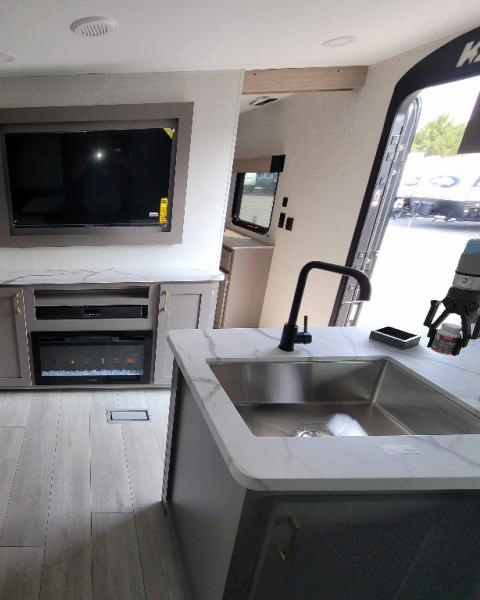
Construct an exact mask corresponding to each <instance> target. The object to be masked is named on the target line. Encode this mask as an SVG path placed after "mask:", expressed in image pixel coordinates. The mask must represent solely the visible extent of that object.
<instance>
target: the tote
mask: <svg viewBox="0 0 480 600" xmlns="http://www.w3.org/2000/svg"><path fill="white" fill-rule="evenodd" d="M368 338H369V339H370V340H374V341H377V342H379V343H381V344H385V345H388V346H390V347H394V348H396V349H399V350H400V351H401V350H403V351H404V350H406V349H408V348H412V347H414V346H417V345H418V344H420V341H421V338H422V335H420V334H418V333H417V334H416V333H414V332H410V331H407V330H404V329H402V328H401V329H400V328H397V327H394V326H391V325H388V324H387V325H383V326H380V327H377V328H374V329H371V330H370V332H369V336H368Z"/></svg>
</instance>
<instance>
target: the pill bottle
mask: <svg viewBox="0 0 480 600" xmlns="http://www.w3.org/2000/svg"><path fill="white" fill-rule="evenodd" d="M437 329H438V330H437V332H436V335H435V338H434V340H433V343H432V345H431V348H430V349H431V351H433V352H435V353H437V354H441V355H445V356H453V355H452V353H453V351H454V348H455V346H456V343H457V341H458V338H460V337H462V325H459V324H457V323H452V322H442V323H441V326H440V328H437Z"/></svg>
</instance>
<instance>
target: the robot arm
mask: <svg viewBox="0 0 480 600" xmlns="http://www.w3.org/2000/svg"><path fill="white" fill-rule="evenodd" d="M450 280H451V281H450V285H449V286H448V288H447V291H446V294H445V297H443V298H442V299H439V298H433V299H431V300H430V307H429V309H428V312H427V314H426V317H425V318H424V320H423V323H422V325H423V326H424V327H426V328H428V330H427V331H428V332H427V334H426V337H427V338H429V339H428V343H427V345H426V348H428V349H431V345H432V343H433V340H434V338H435V335H436V332H437V330H438V329H439V327H440V325H442V324H443V323H444V321H445V320H446V319H447V318H448V317H449V316H450V315H451V314H453V315H454V314H455V315H456V316H457V315H458V316H459V318H460V320H461V326H462V331H461V335H462V336H461V337H460V338H458V341H457V343H456V346H455V348H454V351H453V353H452V355H451V356H453V357H456V356H458V355H460V353H461V350H462V349H465V348H467V347H468V345H469V342H470V340H473V341H475V340H478V339H480V237H477V238H475V237H474V238H470V239H468V240H467V241H465V244H464V246H463V249H462V251H461V252H460V255H459V258H458V261H457V263H456V267H455V270H454V273H453V274H452V278H451V279H450ZM441 305H443V306H444V309H443V311H442V312H441V313H440V315H439V316H437V318H436V319H435V317H436V314H437V312H438V310H439V308H440V306H441ZM474 312H477V313H476V314H477V318H476V320H475V323H474V327H473V331H472V323H471V320H472V319H471V318H472V313H474ZM434 319H435V320H434Z"/></svg>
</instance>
